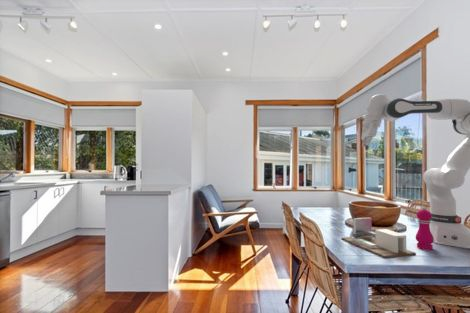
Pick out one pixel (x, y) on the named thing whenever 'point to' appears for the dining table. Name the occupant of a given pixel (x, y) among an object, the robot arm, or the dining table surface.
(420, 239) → the pepper mill
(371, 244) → the gauge scale
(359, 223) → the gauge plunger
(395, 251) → the block
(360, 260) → the dining table surface
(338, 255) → the dining table surface
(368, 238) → the board
